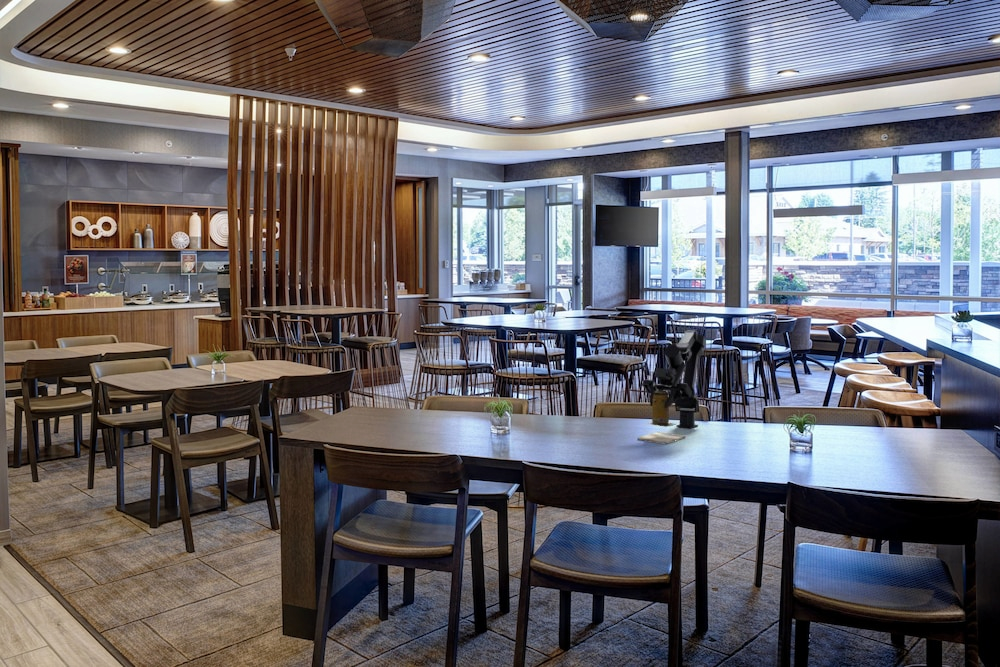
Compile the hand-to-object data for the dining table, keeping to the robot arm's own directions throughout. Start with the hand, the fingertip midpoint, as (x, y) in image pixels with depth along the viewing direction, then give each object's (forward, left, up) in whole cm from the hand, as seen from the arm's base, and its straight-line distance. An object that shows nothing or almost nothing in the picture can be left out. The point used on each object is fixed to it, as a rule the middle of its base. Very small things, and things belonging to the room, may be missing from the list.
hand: (658, 406), depth 294 cm
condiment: (-2, +1, -7) cm, 7 cm away
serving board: (-2, 0, -13) cm, 13 cm away
